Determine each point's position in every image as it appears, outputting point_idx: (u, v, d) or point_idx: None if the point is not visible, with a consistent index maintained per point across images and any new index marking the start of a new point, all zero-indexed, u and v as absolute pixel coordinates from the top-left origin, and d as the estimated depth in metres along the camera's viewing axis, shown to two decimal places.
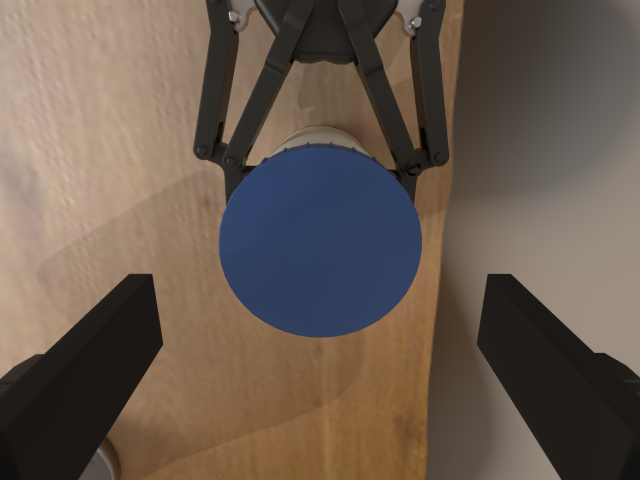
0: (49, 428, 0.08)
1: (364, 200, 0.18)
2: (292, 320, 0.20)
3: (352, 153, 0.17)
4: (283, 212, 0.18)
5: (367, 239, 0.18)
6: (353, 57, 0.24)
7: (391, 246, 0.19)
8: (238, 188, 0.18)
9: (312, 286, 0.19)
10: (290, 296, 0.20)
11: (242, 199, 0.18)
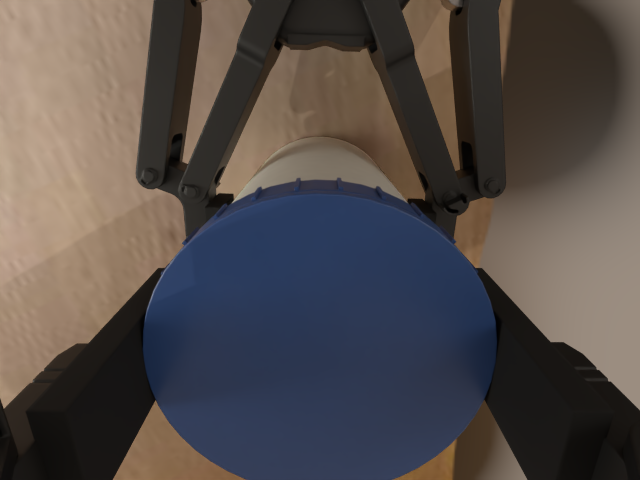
0: (99, 411, 0.09)
1: (399, 284, 0.10)
2: (274, 469, 0.12)
3: (379, 203, 0.09)
4: (254, 304, 0.10)
5: (402, 348, 0.11)
6: (369, 39, 0.16)
7: (443, 358, 0.11)
8: (172, 264, 0.10)
9: (307, 420, 0.11)
10: (270, 434, 0.12)
11: (180, 283, 0.10)
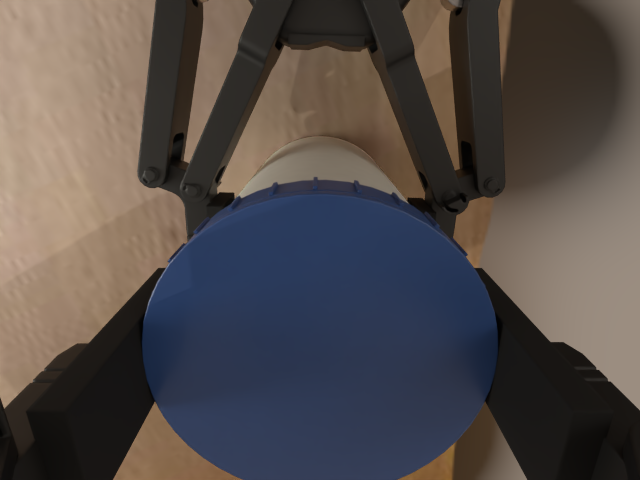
0: (99, 411, 0.09)
1: (251, 277, 0.10)
2: (427, 438, 0.12)
3: (164, 273, 0.10)
4: (237, 396, 0.11)
5: (325, 291, 0.10)
6: (369, 39, 0.16)
7: (354, 255, 0.10)
8: (183, 438, 0.12)
9: (380, 395, 0.11)
10: (383, 428, 0.11)
11: (201, 439, 0.12)
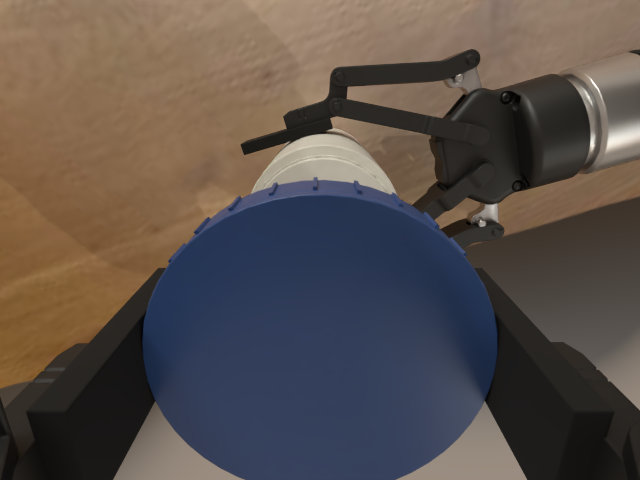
0: (100, 411, 0.09)
1: (252, 277, 0.10)
2: (427, 437, 0.12)
3: (164, 273, 0.10)
4: (237, 396, 0.11)
5: (325, 291, 0.10)
6: (447, 185, 0.29)
7: (354, 255, 0.10)
8: (184, 438, 0.12)
9: (379, 394, 0.11)
10: (383, 428, 0.11)
11: (202, 438, 0.12)
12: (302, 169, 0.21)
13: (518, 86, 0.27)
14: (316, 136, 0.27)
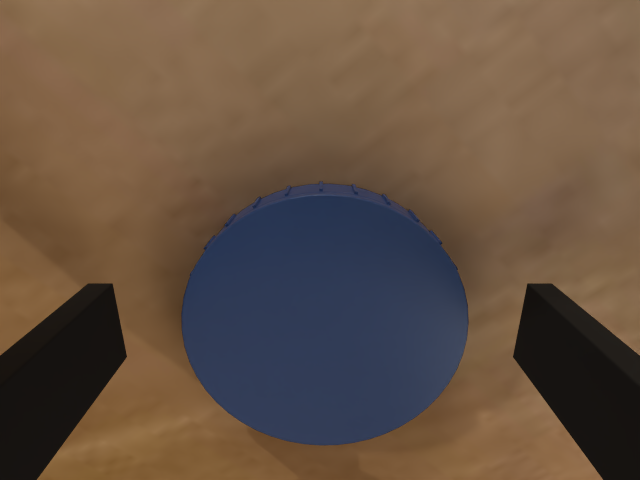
0: None
1: (270, 260, 0.12)
2: (413, 395, 0.14)
3: (201, 257, 0.12)
4: (257, 360, 0.14)
5: (329, 272, 0.13)
6: None
7: (352, 243, 0.12)
8: (212, 396, 0.14)
9: (373, 358, 0.14)
10: (376, 387, 0.14)
11: (227, 396, 0.14)
12: None
13: None
14: None
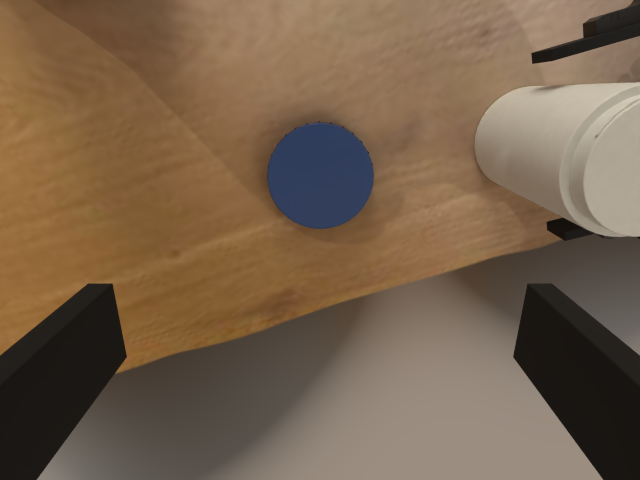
0: None
1: (301, 148, 0.35)
2: (354, 205, 0.37)
3: (276, 147, 0.35)
4: (295, 189, 0.36)
5: (322, 153, 0.35)
6: None
7: (330, 141, 0.35)
8: (277, 205, 0.37)
9: (338, 188, 0.36)
10: (340, 201, 0.37)
11: (283, 205, 0.37)
12: None
13: None
14: (591, 84, 0.27)
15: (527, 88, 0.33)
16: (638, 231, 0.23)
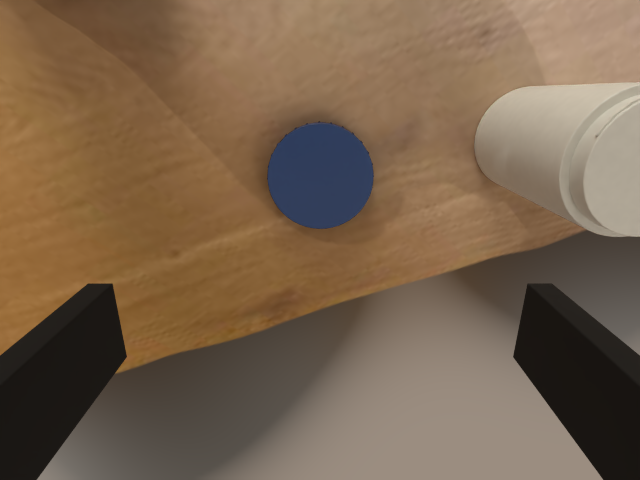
0: None
1: (301, 148, 0.35)
2: (354, 205, 0.37)
3: (276, 147, 0.35)
4: (295, 189, 0.36)
5: (322, 153, 0.35)
6: None
7: (330, 141, 0.35)
8: (277, 205, 0.37)
9: (338, 188, 0.36)
10: (340, 201, 0.37)
11: (283, 205, 0.37)
12: None
13: None
14: (591, 84, 0.27)
15: (527, 88, 0.33)
16: (638, 231, 0.23)
